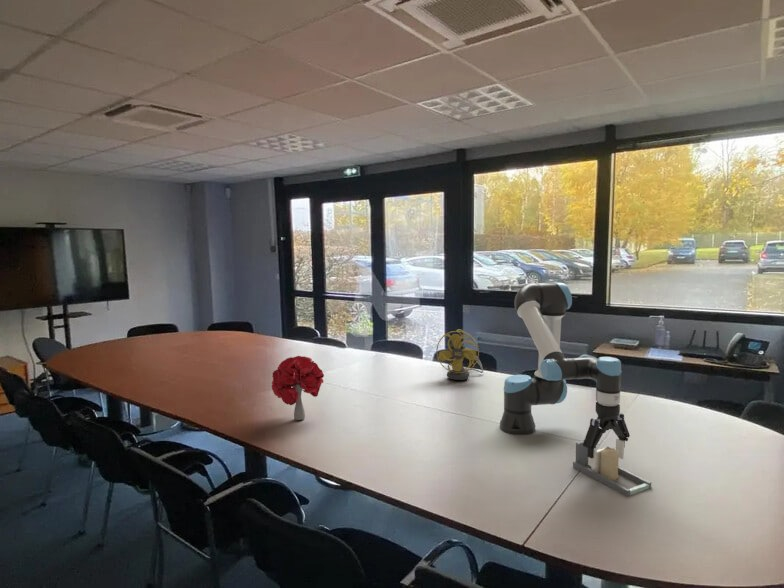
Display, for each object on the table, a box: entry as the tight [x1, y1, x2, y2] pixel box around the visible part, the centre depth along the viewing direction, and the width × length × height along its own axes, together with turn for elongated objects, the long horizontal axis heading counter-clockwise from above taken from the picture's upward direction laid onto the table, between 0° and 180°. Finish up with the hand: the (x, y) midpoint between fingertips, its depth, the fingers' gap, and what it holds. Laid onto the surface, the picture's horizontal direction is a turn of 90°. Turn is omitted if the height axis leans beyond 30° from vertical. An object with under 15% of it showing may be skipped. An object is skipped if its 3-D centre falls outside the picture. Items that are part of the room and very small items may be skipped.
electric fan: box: [435, 328, 484, 381], centre depth 283 cm, size 26×32×30 cm
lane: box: [572, 439, 652, 497], centre depth 156 cm, size 22×11×9 cm, turn 25°
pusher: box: [590, 446, 607, 474], centre depth 159 cm, size 1×8×8 cm, turn 115°
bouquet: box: [271, 355, 325, 421], centre depth 215 cm, size 22×24×30 cm
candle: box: [599, 446, 619, 481], centre depth 156 cm, size 6×6×10 cm
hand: (606, 461), depth 157 cm, fingers open, 13 cm apart
